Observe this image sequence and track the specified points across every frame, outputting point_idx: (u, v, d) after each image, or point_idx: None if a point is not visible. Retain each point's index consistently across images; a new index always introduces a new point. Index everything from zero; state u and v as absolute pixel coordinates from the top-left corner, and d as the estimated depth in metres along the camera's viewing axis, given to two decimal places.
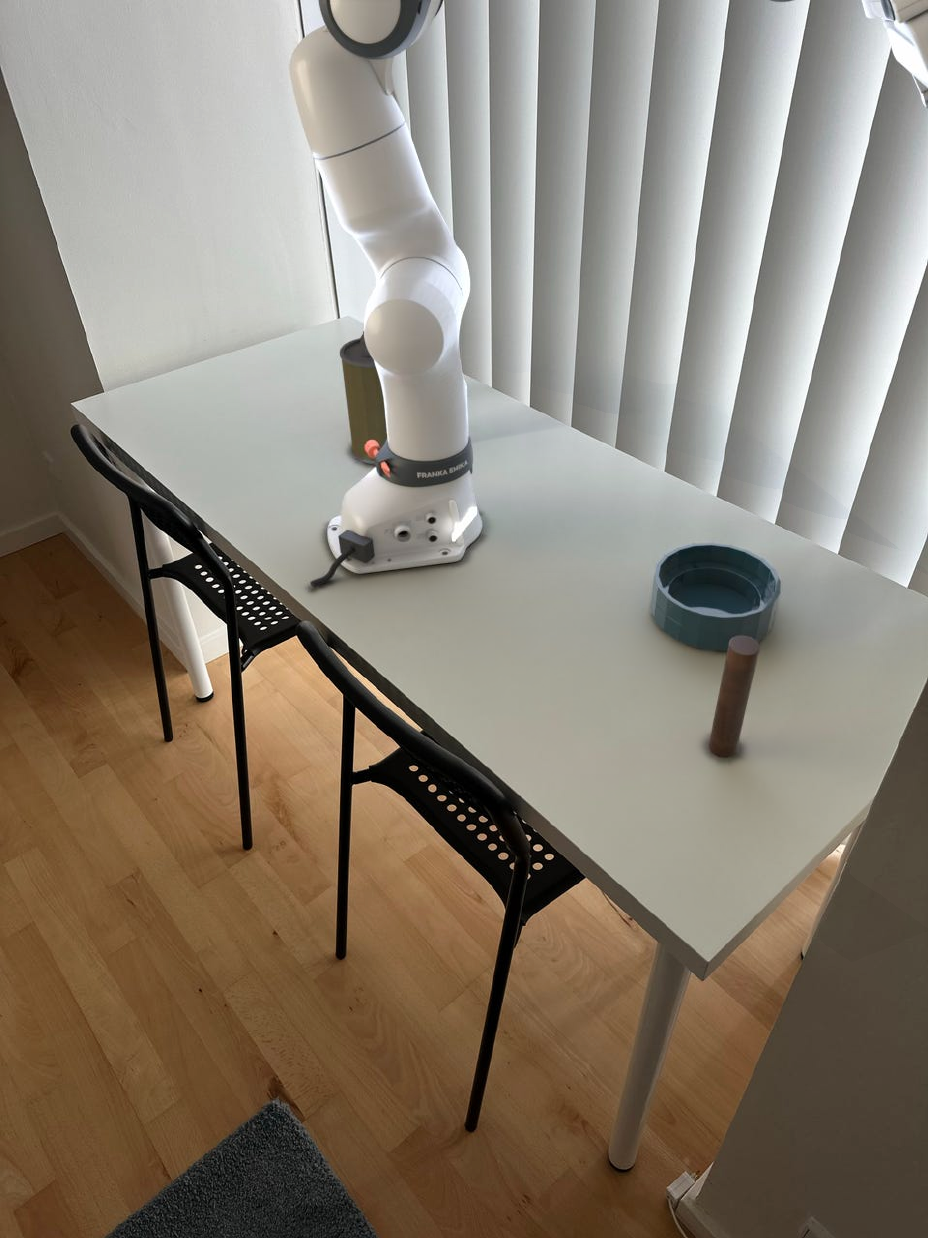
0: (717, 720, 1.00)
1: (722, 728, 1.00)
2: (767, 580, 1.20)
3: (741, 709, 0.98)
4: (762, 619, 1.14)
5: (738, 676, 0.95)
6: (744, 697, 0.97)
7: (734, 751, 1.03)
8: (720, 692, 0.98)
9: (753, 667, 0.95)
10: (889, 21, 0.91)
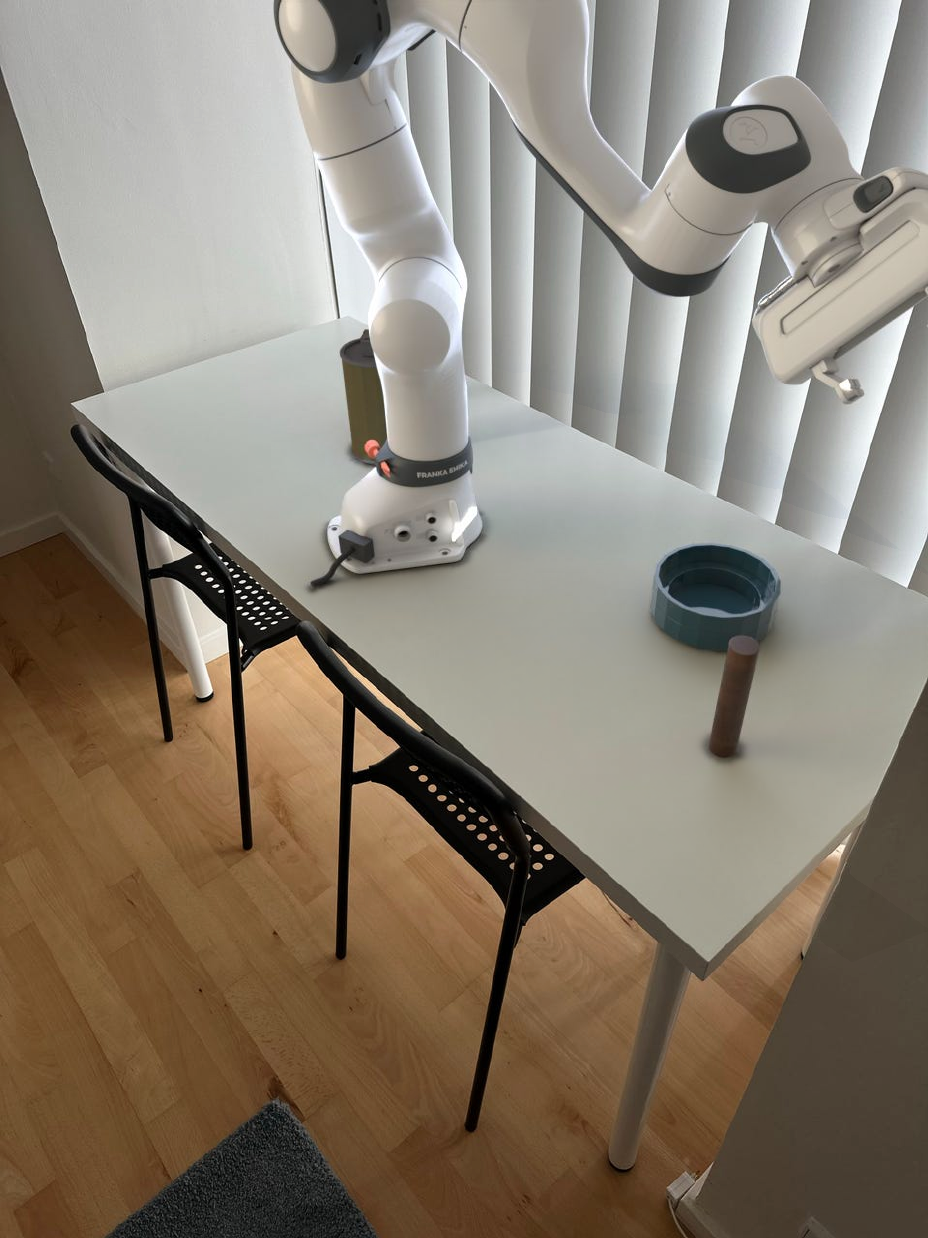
0: (717, 720, 1.00)
1: (722, 728, 1.00)
2: (767, 580, 1.20)
3: (741, 709, 0.98)
4: (762, 619, 1.14)
5: (738, 676, 0.95)
6: (744, 697, 0.97)
7: (734, 751, 1.03)
8: (720, 692, 0.98)
9: (753, 667, 0.95)
10: (841, 251, 0.83)
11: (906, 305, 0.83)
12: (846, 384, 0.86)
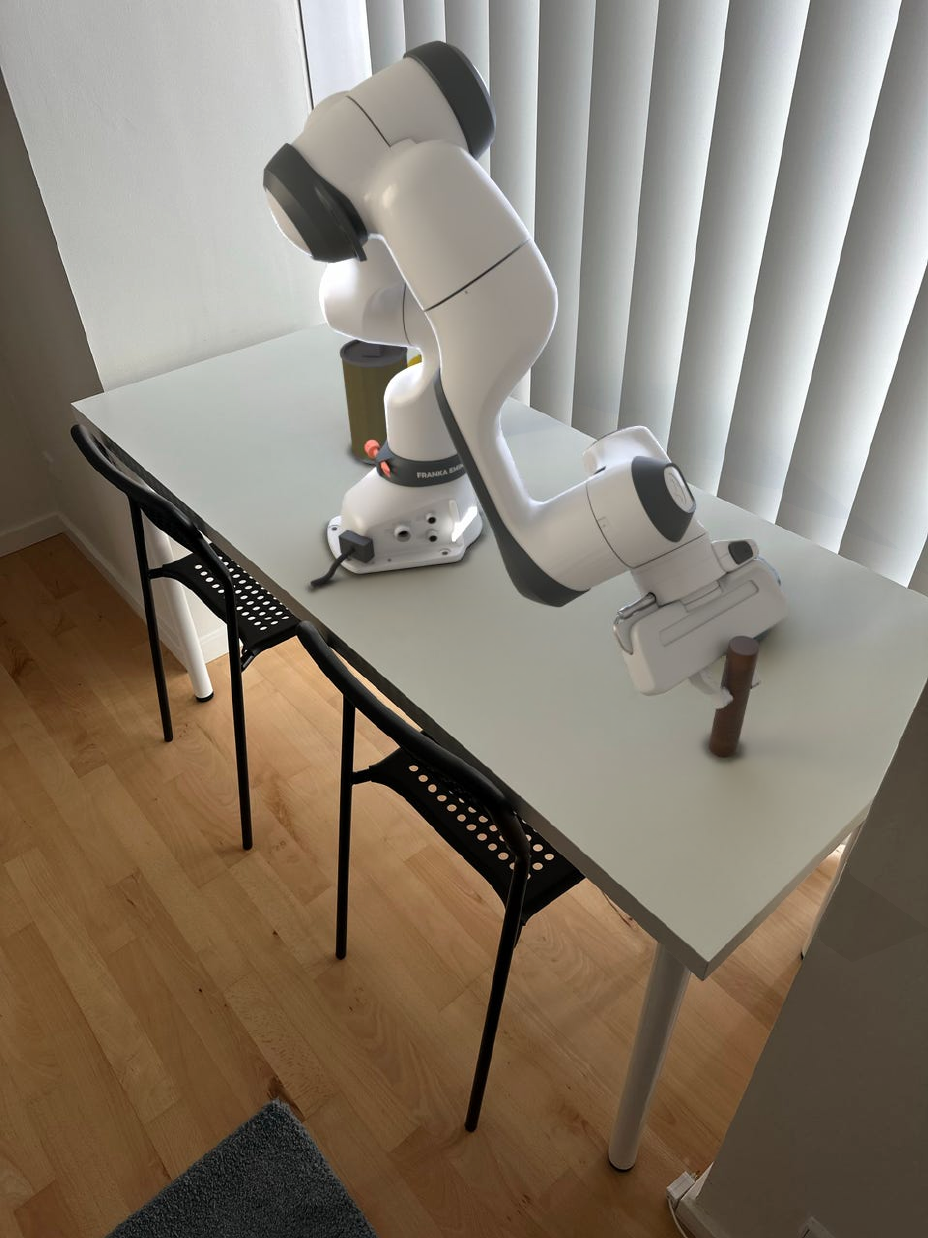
0: (717, 721, 1.00)
1: (722, 728, 1.00)
2: None
3: (741, 709, 0.98)
4: None
5: (738, 676, 0.95)
6: (744, 697, 0.97)
7: (734, 751, 1.03)
8: None
9: (753, 667, 0.95)
10: (717, 588, 0.96)
11: None
12: (726, 690, 0.97)
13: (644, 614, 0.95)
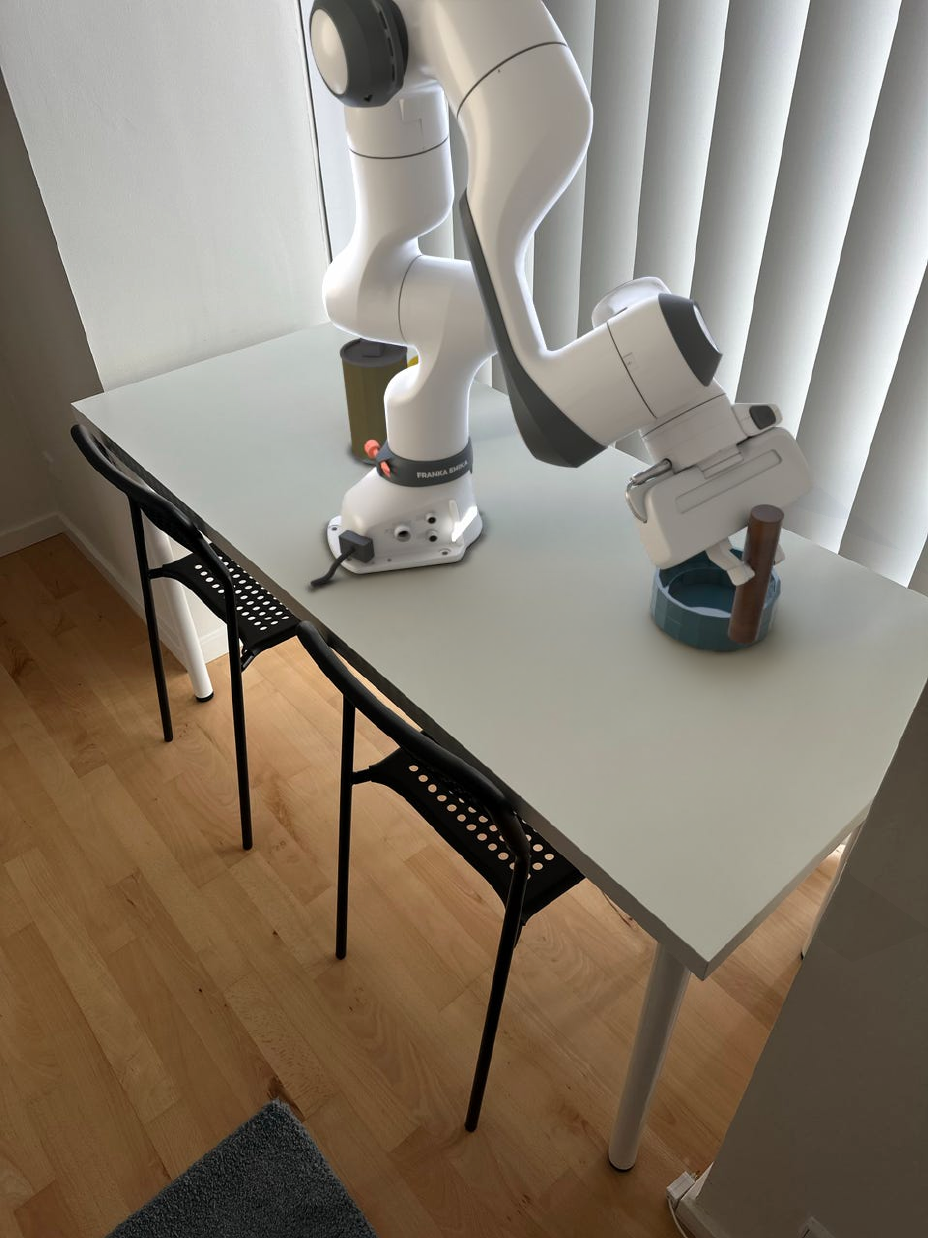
0: (737, 602, 0.94)
1: (742, 609, 0.93)
2: None
3: (763, 587, 0.91)
4: (762, 619, 1.14)
5: (761, 547, 0.88)
6: (767, 572, 0.90)
7: (755, 637, 0.96)
8: None
9: (777, 537, 0.88)
10: (737, 454, 0.89)
11: None
12: (748, 565, 0.90)
13: (659, 480, 0.88)
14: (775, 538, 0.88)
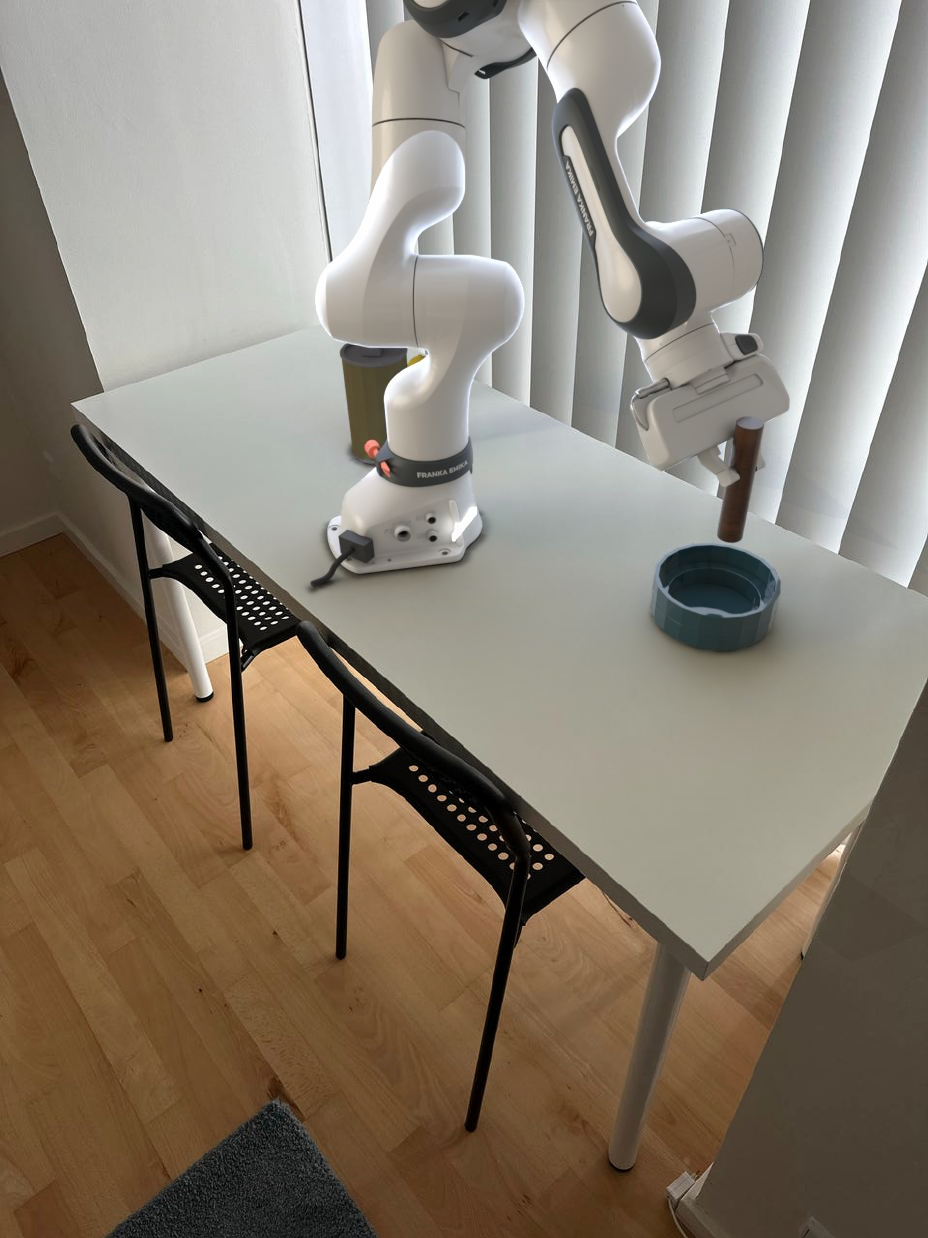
0: (725, 504, 1.09)
1: (729, 510, 1.09)
2: (767, 580, 1.20)
3: (746, 489, 1.07)
4: (762, 619, 1.14)
5: (745, 452, 1.04)
6: (750, 476, 1.06)
7: (740, 536, 1.12)
8: None
9: (758, 443, 1.04)
10: (725, 374, 1.05)
11: None
12: (734, 469, 1.06)
13: (658, 395, 1.04)
14: (757, 444, 1.04)
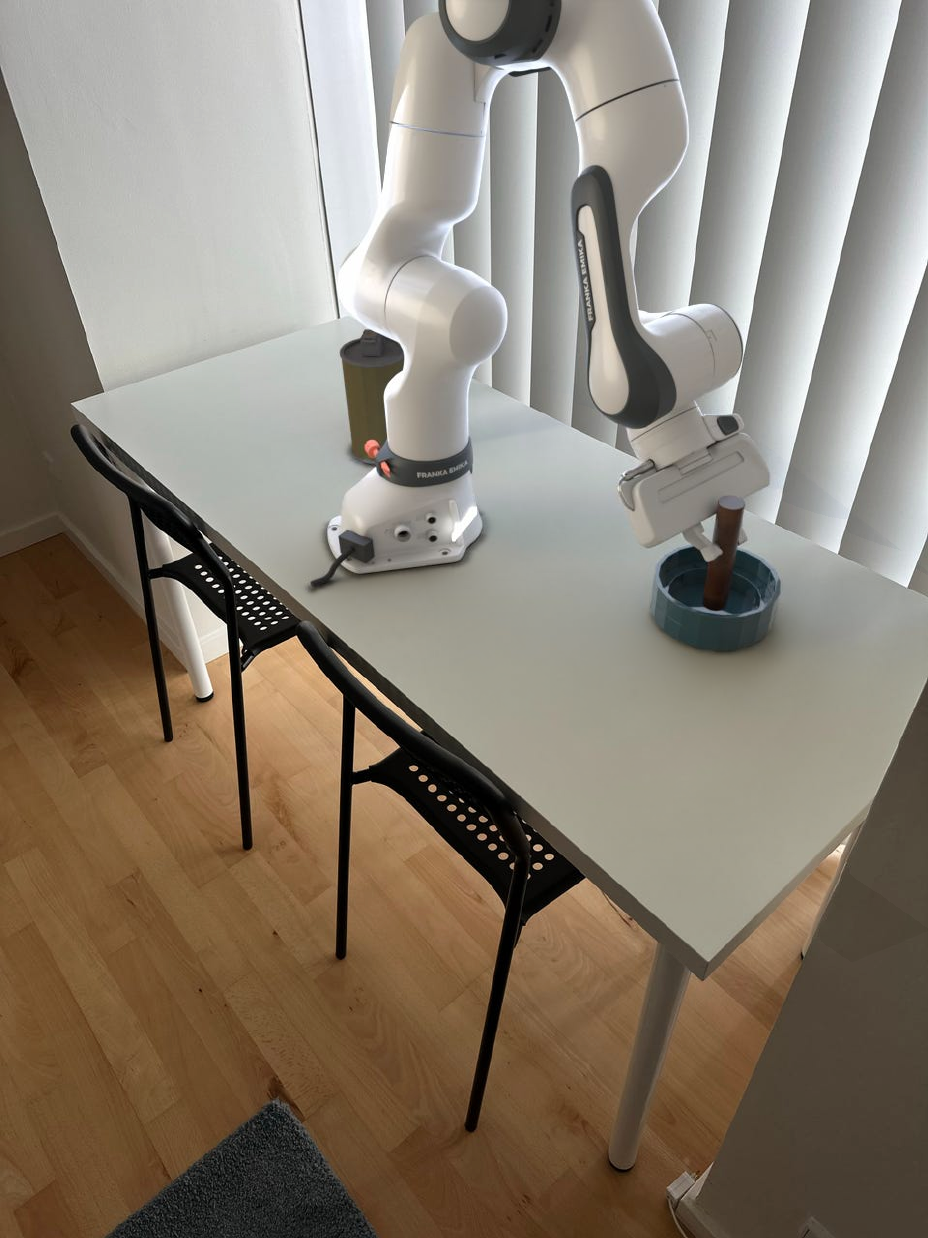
0: (709, 576, 1.15)
1: (713, 582, 1.14)
2: (767, 580, 1.20)
3: (729, 563, 1.12)
4: (762, 619, 1.14)
5: (727, 530, 1.09)
6: (732, 551, 1.11)
7: (724, 605, 1.17)
8: None
9: (739, 522, 1.09)
10: (707, 455, 1.10)
11: None
12: (717, 545, 1.11)
13: (644, 477, 1.09)
14: (738, 522, 1.09)
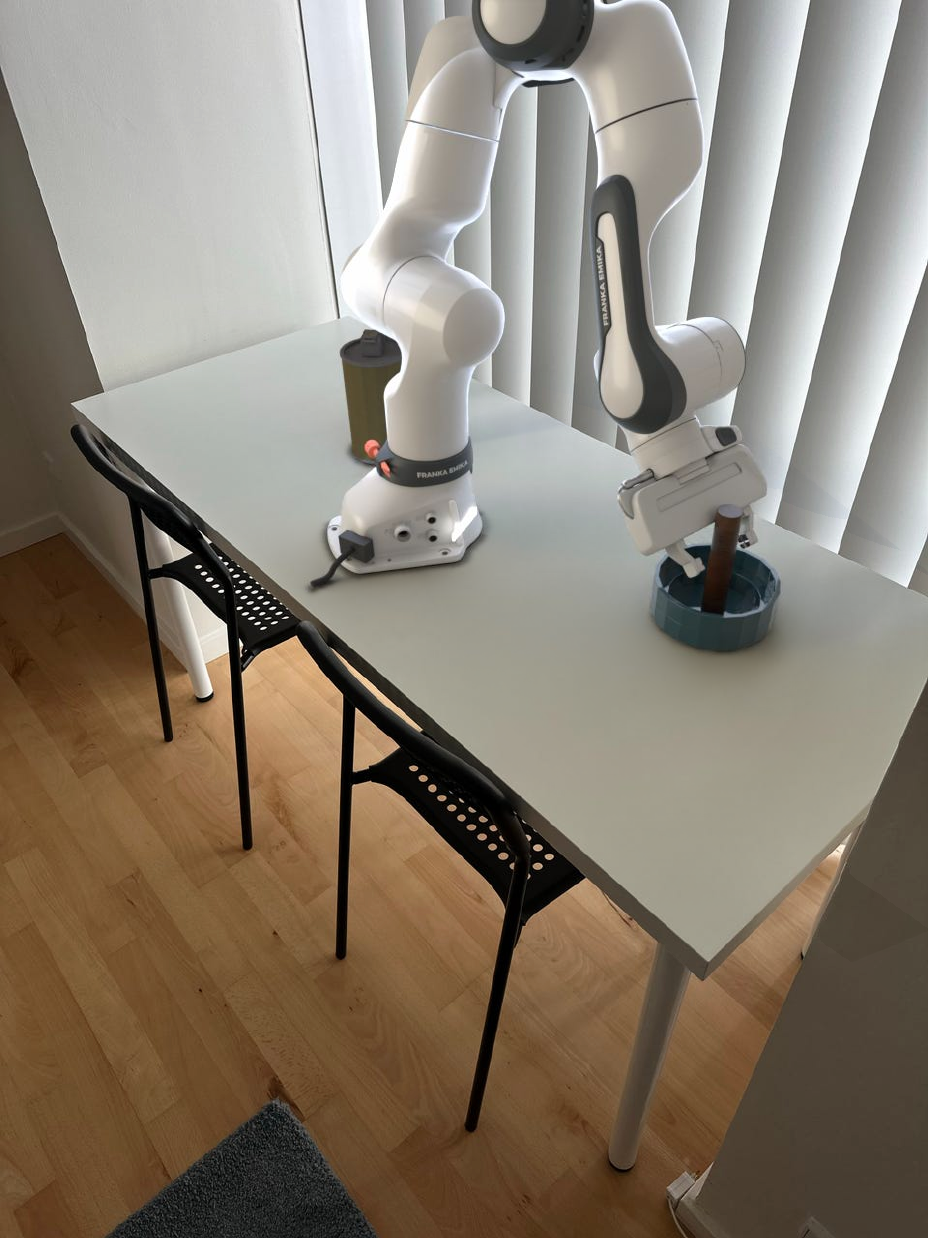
0: (707, 582, 1.17)
1: (711, 588, 1.17)
2: (767, 580, 1.20)
3: (727, 569, 1.15)
4: (762, 619, 1.14)
5: (725, 537, 1.12)
6: (730, 558, 1.14)
7: (722, 611, 1.20)
8: (710, 555, 1.15)
9: (738, 530, 1.12)
10: (705, 466, 1.13)
11: None
12: (699, 561, 1.12)
13: (643, 486, 1.12)
14: (736, 530, 1.12)
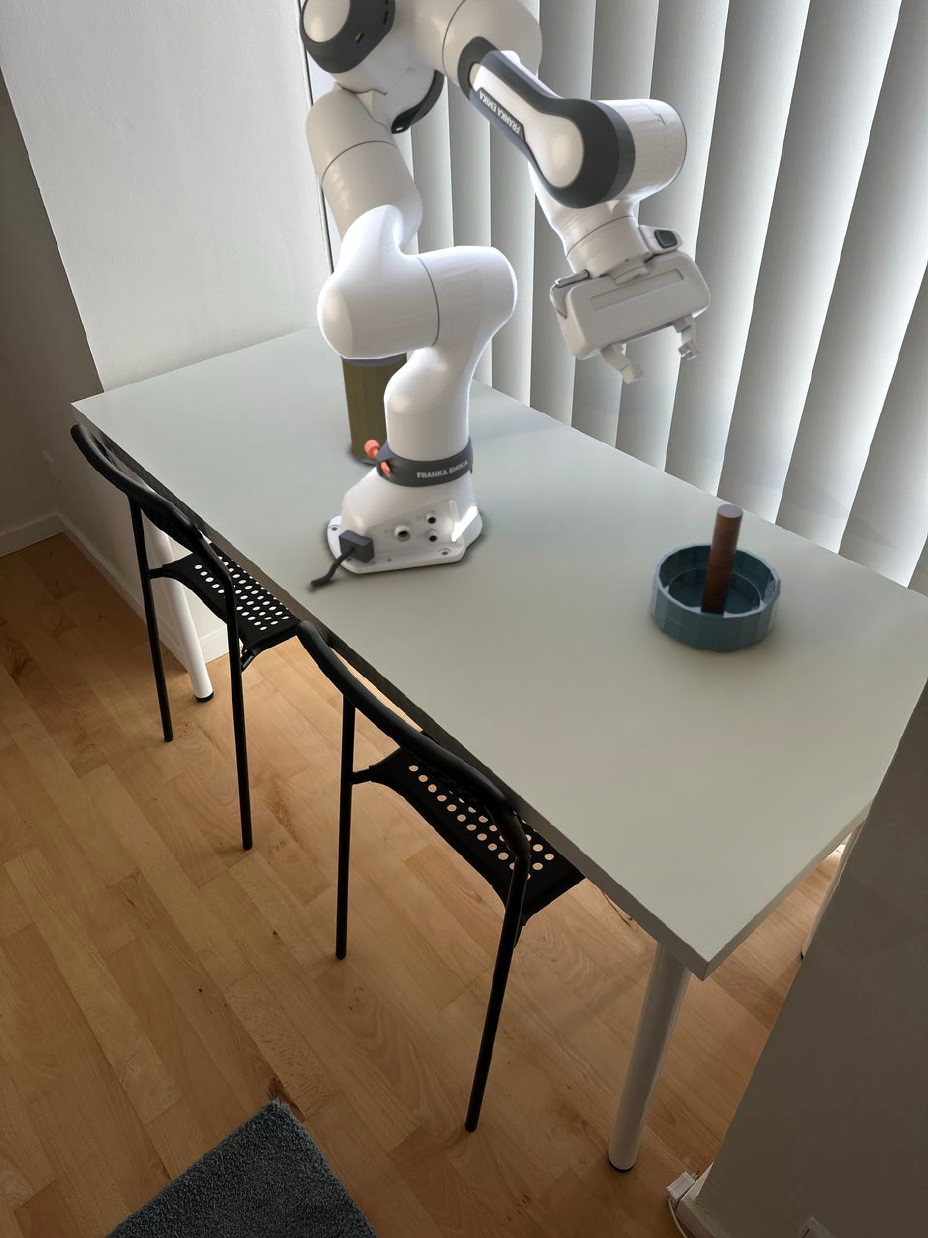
0: (707, 582, 1.17)
1: (711, 588, 1.17)
2: (767, 580, 1.20)
3: (727, 569, 1.15)
4: (762, 619, 1.14)
5: (725, 537, 1.12)
6: (730, 558, 1.14)
7: (722, 611, 1.20)
8: (710, 555, 1.15)
9: (738, 530, 1.12)
10: (644, 266, 1.08)
11: (655, 328, 1.12)
12: (637, 365, 1.08)
13: None
14: (736, 530, 1.12)
